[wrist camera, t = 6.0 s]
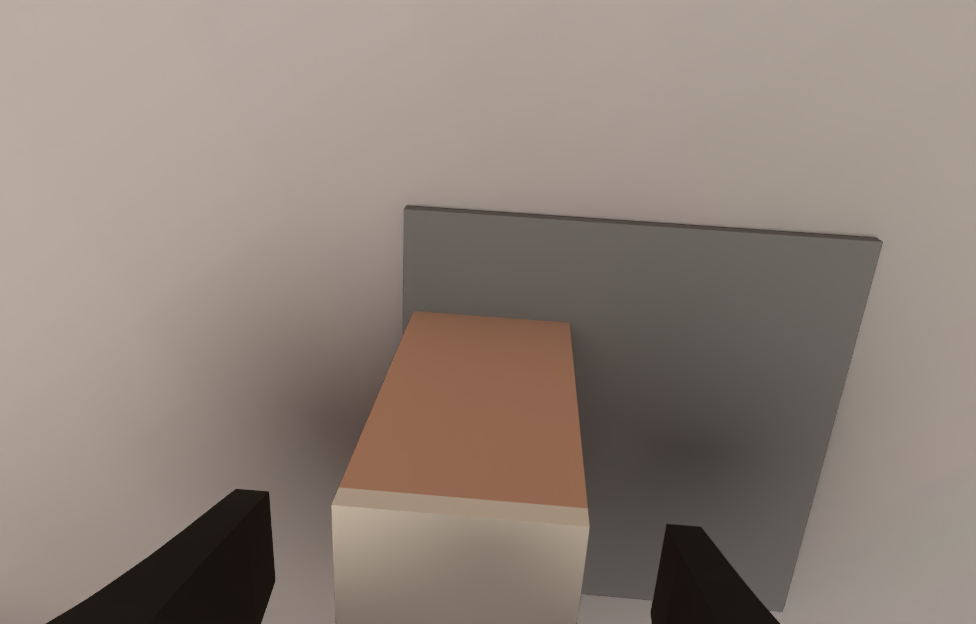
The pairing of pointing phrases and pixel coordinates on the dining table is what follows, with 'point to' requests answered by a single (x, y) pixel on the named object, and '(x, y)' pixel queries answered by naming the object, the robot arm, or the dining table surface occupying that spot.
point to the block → (466, 481)
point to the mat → (671, 369)
